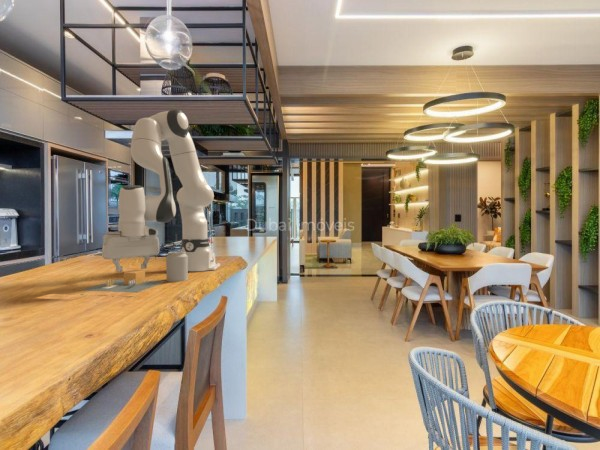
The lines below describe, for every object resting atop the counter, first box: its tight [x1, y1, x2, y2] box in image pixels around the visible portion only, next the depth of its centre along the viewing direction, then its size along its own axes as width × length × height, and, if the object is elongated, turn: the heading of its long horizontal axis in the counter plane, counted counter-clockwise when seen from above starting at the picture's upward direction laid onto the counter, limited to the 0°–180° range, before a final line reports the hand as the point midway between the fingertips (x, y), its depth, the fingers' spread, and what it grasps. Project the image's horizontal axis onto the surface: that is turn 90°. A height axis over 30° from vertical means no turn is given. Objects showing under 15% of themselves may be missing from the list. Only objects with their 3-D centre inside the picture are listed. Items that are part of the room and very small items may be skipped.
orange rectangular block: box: [123, 269, 146, 285], centre depth 138 cm, size 6×4×4 cm
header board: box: [80, 278, 168, 298], centre depth 133 cm, size 19×20×4 cm
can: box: [165, 250, 189, 283], centre depth 143 cm, size 8×8×12 cm
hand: (132, 269), depth 137 cm, fingers open, 8 cm apart
